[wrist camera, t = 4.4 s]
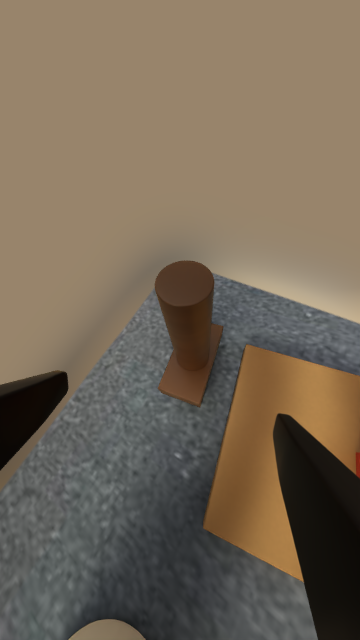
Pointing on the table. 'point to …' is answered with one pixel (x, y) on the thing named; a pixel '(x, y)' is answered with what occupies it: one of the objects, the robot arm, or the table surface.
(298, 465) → the robot arm
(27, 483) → the table surface
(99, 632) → the mug
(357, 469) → the block
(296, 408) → the board
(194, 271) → the brush
